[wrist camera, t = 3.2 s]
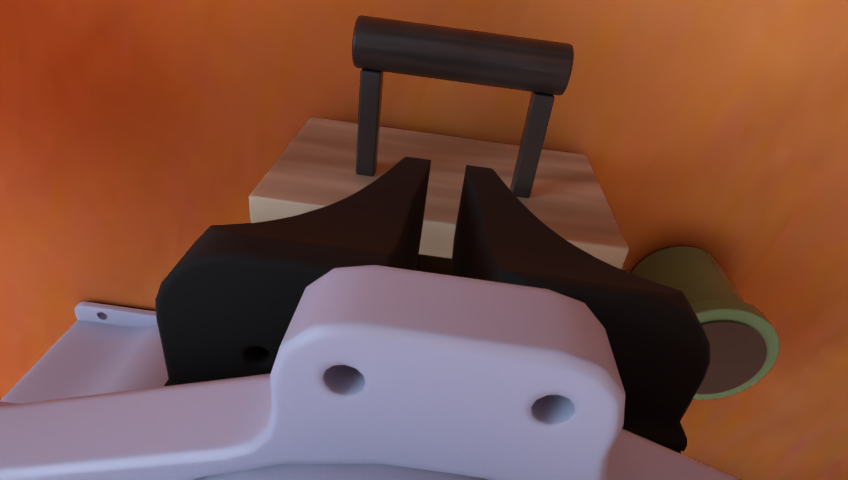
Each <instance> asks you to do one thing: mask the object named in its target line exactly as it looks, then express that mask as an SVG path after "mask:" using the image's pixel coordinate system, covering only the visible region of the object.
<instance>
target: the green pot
mask: <svg viewBox="0 0 848 480" xmlns="http://www.w3.org/2000/svg"><path fill="white" fill-rule="evenodd" d="M631 274H633V275H636V276H638V277H641V278H644V279H647V280H650V281H653V282H656V283H659V284H662V285H665V286H668V287H671V288H674V289H677V290H680V291H682V292H683V293H684V295H685V297H686V298H687V300H688V302H689V303H690V305H691V307H692V309H693V310H694V312H695V314H696V316H697V318H698V320H699V322H700V323H701V325H702V327H703V329H704V332H705V334H706V336H707V339H708V341H709V343H710V364H709V367H708V369H707V372H706V375H705V378H704V380H703V382H702V383H701V385H700V387H699V389H698V390H697V392H696V394H695V396H694V398H693V399H692V400H710V399H717V398H722V397H726V396H730V395H733V394H736V393H738V392H741V391H743V390H745V389H747V388H749V387H751V386H752V385H754V384H755V383H757V382H758V381H759V380H761V379H762V378H763V377H764V376H765V375H766V374H767V373H768V372H769V371H770V369H771V368H772V367H773V365H774V363H775V362H776V360H777V357H778V354H779V338H778V335H777V332H776V330H775V329H774V327H773V326H772V325H771V323H770V322H769V320H768V319H767V318H766V316H765V315H764V314H763V313H762V312H761V311H760V310H758V309H757V308H755V307H754V306H752V305H750V304H748V303H746V302H745V301H744V299H743V298H742V296H741V295H740V294H739V292H738V291H737V289H736V288H735V286H734V285H733V283H732V282H731V280H730V279H729V278H728V276H727V275H726V273H725V272H724V270H723V269H722V267H721V266H720V265H719V263H718V262H717V260H716V259H715V258H714V257H713V256H712V255H710V254H709V253H707V252H705V251H703V250H701V249H698V248H694V247H688V246H676V247H669V248H665V249H662V250H659V251H657V252H654V253H652V254H650V255H649V256H647V257H646V258H644V259H643V260H642V261H640V262H639V263H638V264H637V265H636V267H635V268H634V269H633V270H632V272H631Z"/></svg>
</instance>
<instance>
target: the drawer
mask: <svg viewBox="0 0 848 480" xmlns="http://www.w3.org/2000/svg"><path fill="white" fill-rule="evenodd" d="M573 57H574V51H573V46H572V45H571V44H567V43H560V42H552V41H545V40H538V39H530V38H523V37H516V36H508V35H501V34H494V33H487V32H479V31H472V30H465V29H457V28H450V27H443V26H435V25H428V24H421V23H413V22H406V21H399V20H391V19H384V18H377V17H369V16H362V15H361V16H358V18H357V20H356V23H355V27H354V33H353V42H352V59H353V64H354V66H355V67H357V68H362V70H361V74H360V94H359V114H358V123H351V122H344V121H337V120H329V119H322V118H315V117H310V118H309V119H308V121H307V122H306V123H305V124H304V126H303V127H302V128H301V130H300V131H299V132H298V133H297V135H296V136H295V137H294V139H293V140H292V141H291V142H290V144H289V145H288V146H287V147H286V149H285V150H284V151H283V153H282V154H281V155H280V156H279V158H278V159H277V160H276V162H275V163H274V164H273V165H272V167H271V168H270V169H269V171H268V172H267V173H266V174H265V176H264V177H263V178H262V179H261V181H260V182H259V183H258V185H257V186H256V187H255V188H254V190H253V191H252V192H251V194H250V195H249V210H250V223H256V222H264V221H270V220H277V219H282V218H287V217H292V216H296V215H300V214H303V213H306V212H309V211H313V210H316V209H319V208H323V207H326V206H328V205H331V204H333V203H335V202H338V201H340V200H342V199H344V198H347V197H349V196H351V195H352V194H354V193H356V192H358V191H359V190H361V189H363V188H364V187H366V186H367V185H369V184H371V183H372V182H374V181H375V180H376V179H378V178H379V177H380V176H382V175H383V174H384V173H386V172H387V171H388V170H389V169H391V168H392V167H393V166H394V165H395V164H397V163H398V162H399V161H400V160H402V159H403V158H404V157H414V158H421V159H428V160H431V166H430V174H429V181H428V189H427V196H426V204H425V212H424V219H423V227H422V234H421V241H420V248H419V254H418V261H417V267H416V270H415V271H421V272H429V273H436V274H443V275H450V276H451V263H452V252H453V241H454V234H455V228H456V222H457V217H458V211H459V205H460V199H461V193H462V187H463V181H464V175H465V170H466V165H471V166H479V167H486V168H492V169H493V170H494V171H495V172H496V173H497V174H498V176H499V177H500V178H501V179H502V181H503V182H504V183H505V184H506V185H507V187H508V188H509V189H510V190H511V191H512V193H513V194H514V195H515V196H516V197H517V198H518V199H519V200H520V201H521V202H522V203H523V204H524V205H525V206H526V207H527V209H529V210H530V211H531V212H532V213H533V214H534V215H535V216H536V217H537V218H538V219H539V220H540V221H542V222H543V223H544V224H545V225H546V226H548V227H549V228H550V229H552V230H553V231H554V232H556V233H557V234H558V235H560V236H561V237H563V238H564V239H565V240H567V241H568V242H570V243H572V244H573V245H575V246H576V247H578V248H580V249H582V250H583V251H585V252H587V253H589V254H590V255H592V256H594V257H596V258H598V259H600V260H602V261H604V262H606V263H608V264H610V265H612V266H615V267H617V268H619V269H622V266H623V263H624V261H625V258H626V256H627V253H628V250H629V248H628V246H627V243H626V241H625V239H624V237H623V235H622V232H621V230H620V228H619V226H618V224H617V221H616V219H615V217H614V215H613V213H612V210H611V208H610V206H609V204H608V202H607V199H606V197H605V195H604V193H603V191H602V189H601V186H600V184H599V182H598V180H597V178H596V175H595V173H594V171H593V169H592V167H591V164H590V162H589V160H588V158H587V156H586V155H583V154H576V153H569V152H561V151H554V150H547V149H542V146H543V142H544V138H545V134H546V130H547V126H548V122H549V118H550V114H551V110H552V106H553V102H554V95H562V94H563V93H564V91H565V90H566V88H567V85H568V82H569V79H570V75H571V71H572V66H573ZM383 72H391V73H399V74H406V75H413V76H420V77H428V78H435V79H442V80H449V81H457V82H464V83H471V84H479V85H486V86H493V87H500V88H508V89H515V90H522V91H530V92H532V93H531V98H530V102H529V107H528V111H527V115H526V120H525V124H524V129H523V133H522V138H521V142H520V146H518V145H511V144H503V143H496V142H489V141H482V140H474V139H467V138H460V137H453V136H445V135H438V134H431V133H424V132H416V131H409V130H402V129H395V128H387V127H380V114H381V100H382V86H383Z"/></svg>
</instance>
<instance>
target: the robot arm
mask: <svg viewBox="0 0 848 480" xmlns="http://www.w3.org/2000/svg"><path fill="white" fill-rule="evenodd" d="M430 166H431V160H428V159H421V158H414V157H404V158H403V159H402V160H400V161H399V162H398V163H397V164H395V165H394V166H393V167H392V168H391V169H389V170H388V171H387V172H386V173H384V174H383V175H382V176H380V177H379V178H378V179H376V180H375V181H374V182H372V183H371V184H369V185H367V186H366V187H364V188H363V189H361V190H359V191H358V192H356V193H354V194H352V195H351V196H349V197H347V198H344V199H342V200H340V201H338V202H335V203H333V204H331V205H328V206H326V207H323V208H319V209H316V210H313V211H309V212H306V213H303V214H300V215H296V216H292V217H287V218H282V219H277V220H270V221H264V222H256V223H245V224H231V225H211V226H210V227H209V228H208V229H207V230H206V231H205V232H204V233H203V234H202V235H201V236H200V237H199V238H198V239H197V240H196V242H195V243H194V244H193V245H192V246H191V247H190V249H189V250H188V251H187V252H186V254H185V255H184V256H183V257H182V259H181V260H180V261H179V262H178V263H177V265H176V266H175V267H174V268H173V269H172V271H171V272H170V273H169V274H168V276H167V277H166V278H165V279H164V280H163V282H162V283H161V286H160V289H159V291H158V294H157V297H156V311H149V310H142V309H135V308H128V307H120V306H113V305H106V304H99V303H92V302H80V303H79V304H78V305H77V306H76V307H75V308H74V311H75V314H76V318H77V321H76V322H75V323H74V324H73V325H72V326H71V327H70V328H69V329H68V330H67V332H66V333H65V334H64V335H63V336H62V337H61V338H60V339H59V340H58V341H57V342H56V343H55V344H54V345H53V346H52V347H51V348H50V349H49V350H48V351H47V352H46V353H45V354H44V355H43V356H42V358H41V359H40V360H39V361H38V362H37V363H36V364H35V365H34V366H33V367H32V368H31V369H30V370H29V371H28V372H27V373H26V374H25V375H24V376H23V377H22V378H21V379H20V380H19V381H18V382H17V384H16V385H15V386H14V387H13V388H12V389H11V390H10V391H9V392H8V393H7V394H6V395H5V396H4V397H3V398H2V399H1V400H0V480H741V479H738V478H736V477H734V476H731V475H729V474H727V473H724V472H722V471H720V470H717V469H715V468H713V467H710V466H708V465H706V464H703V463H701V462H699V461H696V460H694V459H692V458H689V457H687V456H685V455H682V454H681V452H680V451H684V450H685V448H686V446H687V438H686V435H685V433H684V431H683V428H682V426H681V423H680V421H681V419H682V417H683V415H684V414H685V412H686V410H687V408H688V406H689V405H690V403H691V401H692V399H693V398H694V396H695V394H696V392H697V390H698V389H699V387H700V385H701V383H702V382H703V380H704V378H705V375H706V372H707V369H708V367H709V364H710V343H709V341H708V339H707V336H706V334H705V332H704V329H703V327H702V325H701V323H700V322H699V320H698V318H697V316H696V314H695V312H694V310H693V309H692V307H691V305H690V303H689V302H688V300H687V298H686V297H685V295H684V293H683V292H682V291H680V290H677V289H674V288H671V287H668V286H665V285H662V284H659V283H656V282H653V281H650V280H647V279H644V278H641V277H638V276H636V275H633V274H631V273H629V272H626V271H624V270H622V269H619V268H617V267H615V266H612V265H610V264H608V263H606V262H604V261H602V260H600V259H598V258H596V257H594V256H592V255H590V254H589V253H587V252H585V251H583V250H582V249H580V248H578V247H576V246H575V245H573V244H572V243H570V242H568V241H567V240H565V239H564V238H563V237H561V236H560V235H558V234H557V233H556V232H554V231H553V230H552V229H550V228H549V227H548V226H546V225H545V224H544V223H543V222H542V221H540V220H539V219H538V218H537V217H536V216H535V215H534V214H533V213H532V212H531V211H530V210H529V209H527V207H526V206H525V205H524V204H523V203H522V202H521V201H520V200H519V199H518V198H517V197H516V196H515V195H514V194H513V193H512V191H511V190H510V189H509V188H508V187H507V185H506V184H505V183H504V182H503V181H502V179H501V178H500V177H499V176H498V174H497V173H496V172H495V171H494V170H493V169H492V168H486V167H479V166H471V165H466V170H465V175H464V181H463V187H462V193H461V199H460V205H459V211H458V217H457V222H456V228H455V234H454V241H453V252H452V263H451V276H450V275H443V274H436V273H429V272H421V271H415V270H416V267H417V261H418V254H419V248H420V241H421V234H422V227H423V219H424V212H425V204H426V196H427V189H428V181H429V174H430ZM104 313H105V314H104Z"/></svg>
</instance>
